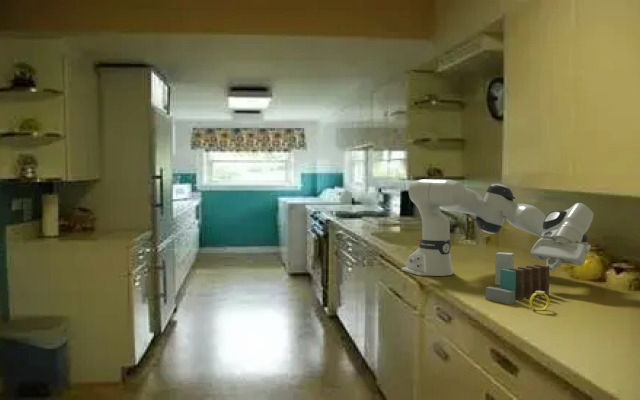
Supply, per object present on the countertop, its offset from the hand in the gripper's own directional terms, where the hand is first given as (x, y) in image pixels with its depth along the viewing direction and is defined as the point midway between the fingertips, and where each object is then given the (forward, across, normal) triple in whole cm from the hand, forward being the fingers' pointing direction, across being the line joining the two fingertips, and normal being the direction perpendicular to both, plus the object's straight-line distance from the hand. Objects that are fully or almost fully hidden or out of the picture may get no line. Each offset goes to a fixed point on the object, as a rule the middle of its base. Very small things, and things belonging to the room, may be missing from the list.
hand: (549, 269), depth 221 cm
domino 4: (+12, 0, 0) cm, 12 cm away
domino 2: (+18, 0, +7) cm, 19 cm away
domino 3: (+15, 0, +4) cm, 15 cm away
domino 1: (+21, 0, +10) cm, 23 cm away
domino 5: (+9, 0, -3) cm, 9 cm away
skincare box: (+7, +18, -5) cm, 20 cm away
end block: (+24, 0, +13) cm, 27 cm away
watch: (+24, -15, +12) cm, 31 cm away
